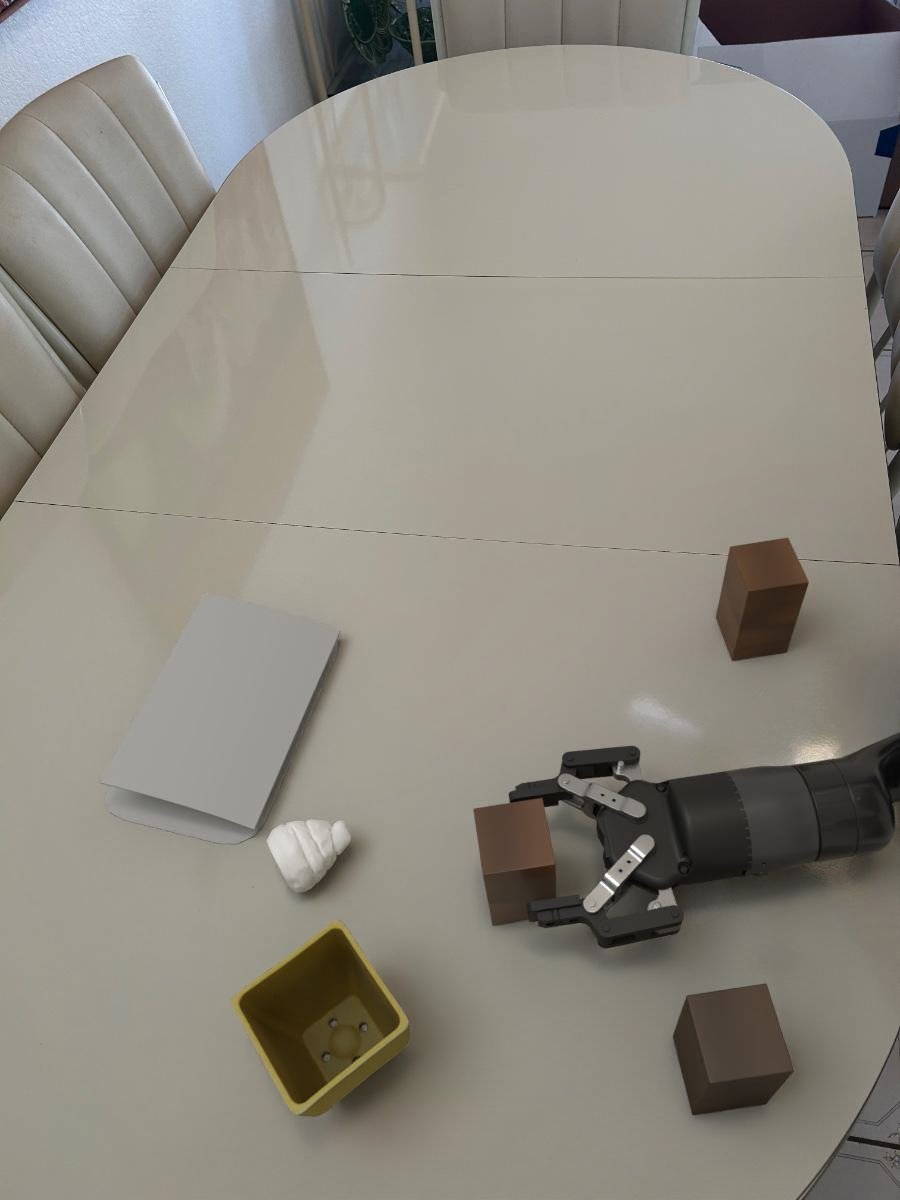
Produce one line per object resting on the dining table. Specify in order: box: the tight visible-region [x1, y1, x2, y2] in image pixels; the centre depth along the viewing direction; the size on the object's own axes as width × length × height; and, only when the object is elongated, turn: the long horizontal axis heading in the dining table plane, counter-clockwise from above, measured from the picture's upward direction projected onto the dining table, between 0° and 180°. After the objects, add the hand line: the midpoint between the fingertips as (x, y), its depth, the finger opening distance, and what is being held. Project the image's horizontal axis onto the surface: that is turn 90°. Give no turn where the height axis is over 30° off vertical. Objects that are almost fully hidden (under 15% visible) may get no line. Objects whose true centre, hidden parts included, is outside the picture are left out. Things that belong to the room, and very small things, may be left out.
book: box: [99, 592, 342, 845], centre depth 84 cm, size 15×23×4 cm, turn 164°
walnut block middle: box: [473, 798, 558, 926], centre depth 69 cm, size 5×5×10 cm
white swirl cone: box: [266, 818, 352, 894], centre depth 74 cm, size 6×6×6 cm
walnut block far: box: [715, 537, 810, 661], centre depth 81 cm, size 5×5×10 cm
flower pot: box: [230, 919, 411, 1118], centre depth 63 cm, size 9×9×9 cm
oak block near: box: [672, 983, 795, 1116], centre depth 60 cm, size 5×5×10 cm
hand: (518, 855), depth 68 cm, fingers open, 8 cm apart
